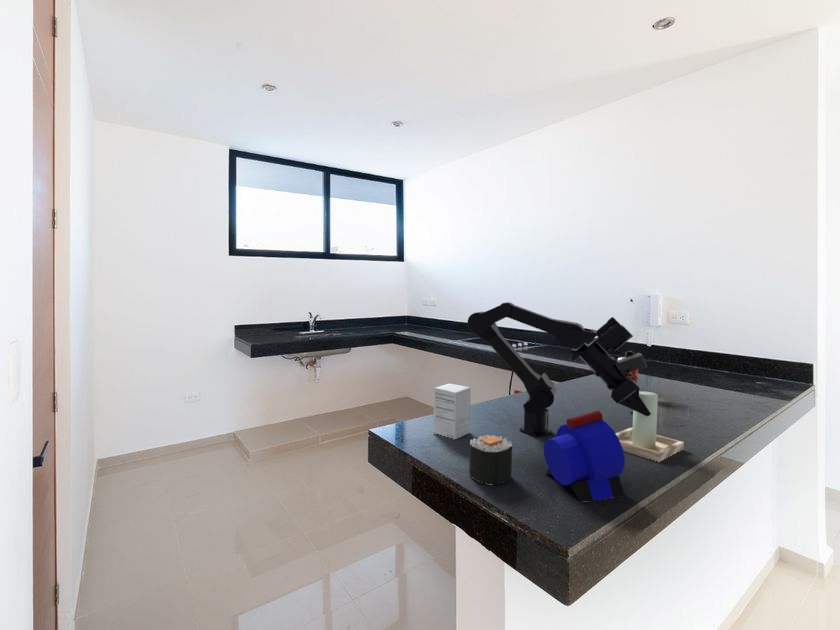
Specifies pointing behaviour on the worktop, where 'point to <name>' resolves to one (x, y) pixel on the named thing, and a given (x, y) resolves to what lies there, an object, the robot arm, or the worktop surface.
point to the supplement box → (452, 410)
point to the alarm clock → (586, 457)
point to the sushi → (490, 459)
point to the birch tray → (660, 452)
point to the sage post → (645, 422)
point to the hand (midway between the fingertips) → (646, 410)
